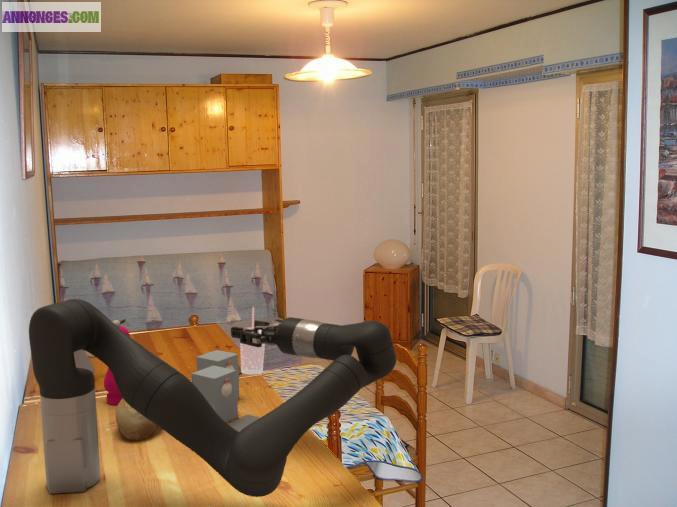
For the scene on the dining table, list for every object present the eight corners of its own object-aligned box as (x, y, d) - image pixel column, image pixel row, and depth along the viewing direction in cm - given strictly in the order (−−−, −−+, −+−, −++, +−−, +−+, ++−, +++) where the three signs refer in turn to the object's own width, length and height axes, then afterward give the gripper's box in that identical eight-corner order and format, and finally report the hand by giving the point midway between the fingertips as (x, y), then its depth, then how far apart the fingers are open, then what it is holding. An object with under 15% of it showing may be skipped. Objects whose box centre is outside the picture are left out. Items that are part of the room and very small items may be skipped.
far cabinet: (241, 398, 170) (239, 354, 168) (221, 406, 164) (219, 361, 162) (218, 392, 174) (216, 350, 172) (198, 400, 168) (196, 356, 166)
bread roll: (160, 414, 160) (158, 381, 158) (165, 439, 145) (163, 402, 144) (116, 420, 157) (114, 385, 156) (116, 445, 143) (114, 408, 141)
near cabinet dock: (284, 425, 152) (283, 376, 151) (251, 442, 143) (249, 390, 142) (221, 408, 163) (219, 363, 161) (186, 423, 154) (184, 375, 152)
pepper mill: (126, 406, 165) (122, 324, 162) (98, 404, 166) (93, 323, 163) (141, 396, 172) (137, 317, 169) (114, 394, 173) (109, 316, 170)
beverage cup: (235, 368, 150) (236, 304, 149) (263, 367, 152) (264, 304, 151) (240, 376, 145) (241, 309, 143) (269, 374, 147) (270, 309, 145)
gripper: (283, 365, 135) (220, 353, 144) (326, 347, 146) (265, 338, 156) (282, 327, 134) (218, 317, 143) (325, 312, 145) (264, 305, 155)
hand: (243, 328), depth 149 cm, fingers closed on beverage cup, 6 cm apart
